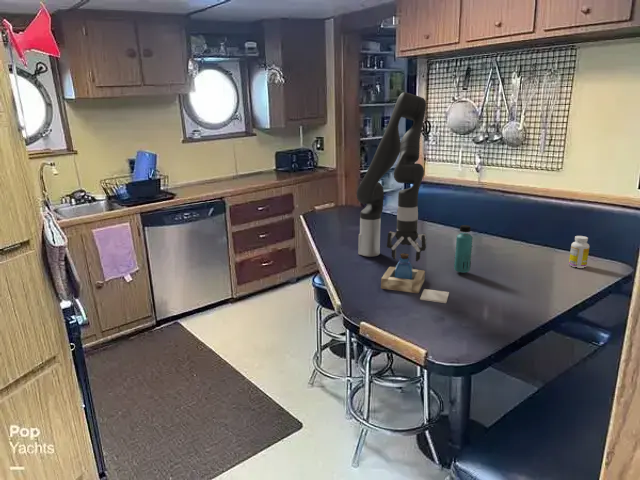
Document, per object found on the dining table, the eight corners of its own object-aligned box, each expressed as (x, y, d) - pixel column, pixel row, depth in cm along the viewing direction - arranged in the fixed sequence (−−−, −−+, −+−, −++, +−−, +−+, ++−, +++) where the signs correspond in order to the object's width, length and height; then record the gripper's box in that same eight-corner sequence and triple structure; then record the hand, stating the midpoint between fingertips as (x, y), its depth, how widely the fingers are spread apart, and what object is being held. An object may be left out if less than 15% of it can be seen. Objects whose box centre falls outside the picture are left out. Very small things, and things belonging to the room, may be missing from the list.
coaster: (420, 299, 164) (420, 298, 163) (424, 290, 172) (424, 288, 171) (446, 303, 160) (446, 301, 160) (449, 293, 168) (449, 292, 168)
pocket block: (380, 288, 174) (381, 278, 173) (389, 275, 186) (389, 266, 185) (418, 293, 169) (419, 283, 168) (424, 280, 182) (425, 270, 180)
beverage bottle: (461, 277, 184) (465, 228, 179) (449, 272, 190) (453, 224, 184) (473, 274, 187) (477, 226, 182) (461, 269, 193) (465, 223, 187)
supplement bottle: (585, 265, 197) (590, 236, 193) (586, 270, 191) (591, 240, 188) (567, 263, 200) (572, 234, 196) (568, 267, 194) (573, 238, 190)
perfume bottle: (411, 287, 174) (412, 257, 171) (394, 286, 175) (395, 256, 172) (411, 281, 180) (413, 252, 177) (395, 280, 181) (396, 251, 178)
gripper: (386, 219, 169) (385, 261, 174) (425, 221, 165) (423, 264, 169) (390, 214, 176) (389, 255, 181) (428, 216, 171) (426, 258, 176)
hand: (405, 259), depth 175 cm, fingers open, 8 cm apart
